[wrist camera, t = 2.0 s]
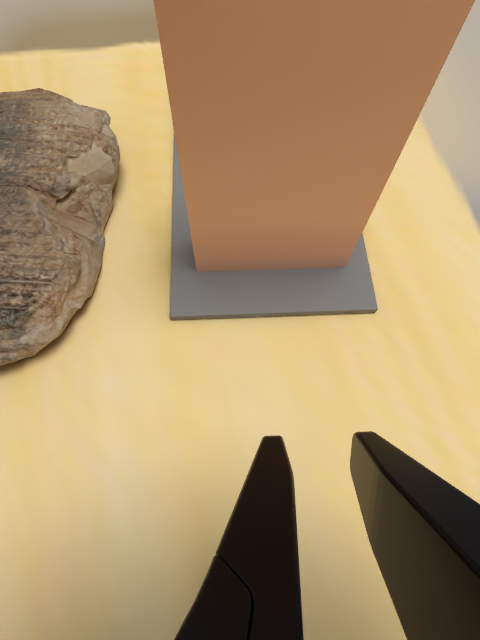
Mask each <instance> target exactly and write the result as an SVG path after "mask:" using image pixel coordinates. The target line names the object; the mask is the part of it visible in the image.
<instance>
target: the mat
mask: <svg viewBox="0 0 480 640" xmlns="http://www.w3.org/2000/svg"><path fill="white" fill-rule="evenodd" d="M377 309H378V308H377V303H376V298H375V293H374V288H373V283H372V278H371V273H370V268H369V263H368V258H367V253H366V248H365V243H364V239H363V234H361V236H360V238H359V240H358V242H357V244H356V246H355V248H354V250H353V252H352V254H351V256H350V258H349V261H348V263H347V265H346V267H338V268H307V269H276V270H245V271H214V272H197V271H196V265H195V258H194V252H193V246H192V239H191V233H190V227H189V220H188V214H187V208H186V202H185V195H184V189H183V183H182V176H181V170H180V164H179V157H178V151H177V145H176V139H175V132H174V173H173V214H172V255H171V296H170V318H171V320H188V319H216V318H243V317H271V316H299V315H327V314H354V313H375V312H376V311H377Z"/></svg>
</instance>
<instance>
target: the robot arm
mask: <svg viewBox="0 0 480 640" xmlns="http://www.w3.org/2000/svg"><path fill="white" fill-rule="evenodd" d="M350 470H351V475H352V479H353V483H354V487H355V490H356V494H357V498H358V501H359V505H360V509H361V512H362V516H363V520H364V524H365V527H366V531H367V534H368V538H369V541H370V544H371V547H372V550H373V553H374V555H375V558H376V560H377V563H378V566H379V568H380V571H381V573H382V576H383V578H384V581H385V584H386V586H387V589H388V591H389V594H390V596H391V599H392V601H393V604H394V607H395V609H396V612H397V614H398V617H399V619H400V622H401V624H402V627H403V630H404V632H405V635H406V637H407V640H480V504H479V503H477V502H476V501H474V500H473V499H471V498H470V497H468V496H467V495H466V494H464V493H463V492H461V491H460V490H458V489H457V488H455V487H454V486H452V485H451V484H449V483H448V482H447V481H445V480H444V479H442V478H441V477H439V476H438V475H436V474H435V473H433V472H432V471H430V470H429V469H427V468H426V467H425V466H423V465H422V464H420V463H419V462H417V461H416V460H414V459H413V458H411V457H410V456H408V455H407V454H405V453H404V452H403V451H401V450H400V449H398V448H397V447H395V446H394V445H392V444H391V443H389V442H388V441H386V440H385V439H383V438H382V437H381V436H379V435H378V434H376V433H374V432H371V431H369V432H356V433H355V434H354V435H353V438H352V448H351V458H350ZM174 640H304V638H303V622H302V605H301V589H300V572H299V556H298V539H297V522H296V506H295V489H294V477H293V472H292V468H291V464H290V461H289V458H288V454H287V451H286V447H285V444H284V441H283V438H282V437H281V436H264V437H263V438H262V440H261V443H260V445H259V448H258V450H257V453H256V455H255V458H254V460H253V462H252V465H251V467H250V470H249V472H248V475H247V477H246V480H245V482H244V485H243V487H242V489H241V492H240V494H239V497H238V499H237V502H236V504H235V507H234V509H233V512H232V514H231V516H230V519H229V521H228V524H227V526H226V529H225V531H224V534H223V536H222V538H221V541H220V543H219V546H218V548H217V551H216V555H215V556H214V557H213V560H212V562H211V565H210V567H209V570H208V572H207V575H206V577H205V579H204V581H203V583H202V586H201V588H200V590H199V592H198V594H197V597H196V599H195V601H194V603H193V605H192V607H191V609H190V611H189V612H188V614H187V616H186V618H185V620H184V622H183V624H182V626H181V628H180V629H179V631H178V633H177V635H176V637H175V638H174Z"/></svg>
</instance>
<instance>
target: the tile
mask: <svg viewBox="0 0 480 640" xmlns="http://www.w3.org/2000/svg"><path fill="white" fill-rule="evenodd" d="M474 1H475V0H154V6H155V13H156V19H157V25H158V31H159V38H160V44H161V50H162V57H163V63H164V69H165V76H166V82H167V88H168V94H169V101H170V107H171V113H172V120H173V126H174V132H175V139H176V145H177V151H178V157H179V164H180V170H181V176H182V183H183V189H184V195H185V202H186V208H187V214H188V220H189V227H190V233H191V239H192V246H193V252H194V258H195V265H196V271H197V272H214V271H245V270H276V269H307V268H338V267H346V265H347V263H348V261H349V258H350V256H351V254H352V252H353V250H354V248H355V246H356V244H357V242H358V240H359V238H360V236H361V234H362V232H363V230H364V228H365V226H366V224H367V221H368V219H369V217H370V215H371V213H372V211H373V209H374V207H375V205H376V203H377V201H378V199H379V197H380V195H381V193H382V191H383V189H384V186H385V184H386V182H387V180H388V178H389V176H390V174H391V172H392V170H393V168H394V166H395V164H396V162H397V160H398V158H399V156H400V154H401V151H402V149H403V147H404V145H405V143H406V141H407V139H408V137H409V135H410V133H411V131H412V129H413V127H414V125H415V123H416V121H417V119H418V116H419V114H420V112H421V110H422V108H423V106H424V104H425V102H426V100H427V98H428V96H429V94H430V92H431V90H432V87H433V85H434V84H435V81H436V79H437V77H438V75H439V73H440V71H441V69H442V67H443V65H444V63H445V61H446V59H447V57H448V55H449V53H450V51H451V48H452V46H453V44H454V42H455V40H456V38H457V36H458V34H459V32H460V30H461V28H462V26H463V24H464V22H465V20H466V18H467V16H468V14H469V11H470V9H471V7H472V5H473V3H474Z"/></svg>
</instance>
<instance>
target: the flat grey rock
mask: <svg viewBox="0 0 480 640" xmlns="http://www.w3.org/2000/svg"><path fill="white" fill-rule="evenodd" d="M109 125H110V116H109V115H108V114H107V112H106V111H104V110H100V109H96V108H91V107H87V106H83V105H78V104H76V103H74V102H73V101H72V100H71V99H68V98H66V97H64V96H62V95H59V94H56V93H54V92H51V91H48V90H43V89H40V88H37V89H32V90H27V91H20V92H2V93H0V365H4V364H9V363H13V362H16V361H18V360H21V359H23V358H27V357H31V356H34V355H35V354H36V353H38V352H39V351H40V350H41V349H42V348H44V347H45V346H46V345H48V344H49V343H50V342H52V341H53V340H54V339H56V338H57V337H59V336H60V334H61V333H62V332H63V331H64V329H65V328H66V327H67V325H68V323H69V321H70V319H71V317H72V316H73V315H74V314H75V312H76V311H77V310H78V309H81V307H82V305H83V304H84V302H85V300H86V299H87V298H89V297H91V296H92V294H93V291H94V288H95V284H96V281H97V278H98V275H99V272H100V269H101V266H102V252H103V249H104V246H105V238H104V234H103V230H104V227H105V225H106V222H107V220H108V218H109V216H110V214H111V211H112V208H113V201H112V189H113V187H114V185H115V182H116V180H117V177H118V169H119V161H120V152H119V146H118V144H117V139H116V136H115V134H114V133H113V131H112V130H111V129H110V127H109Z"/></svg>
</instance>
